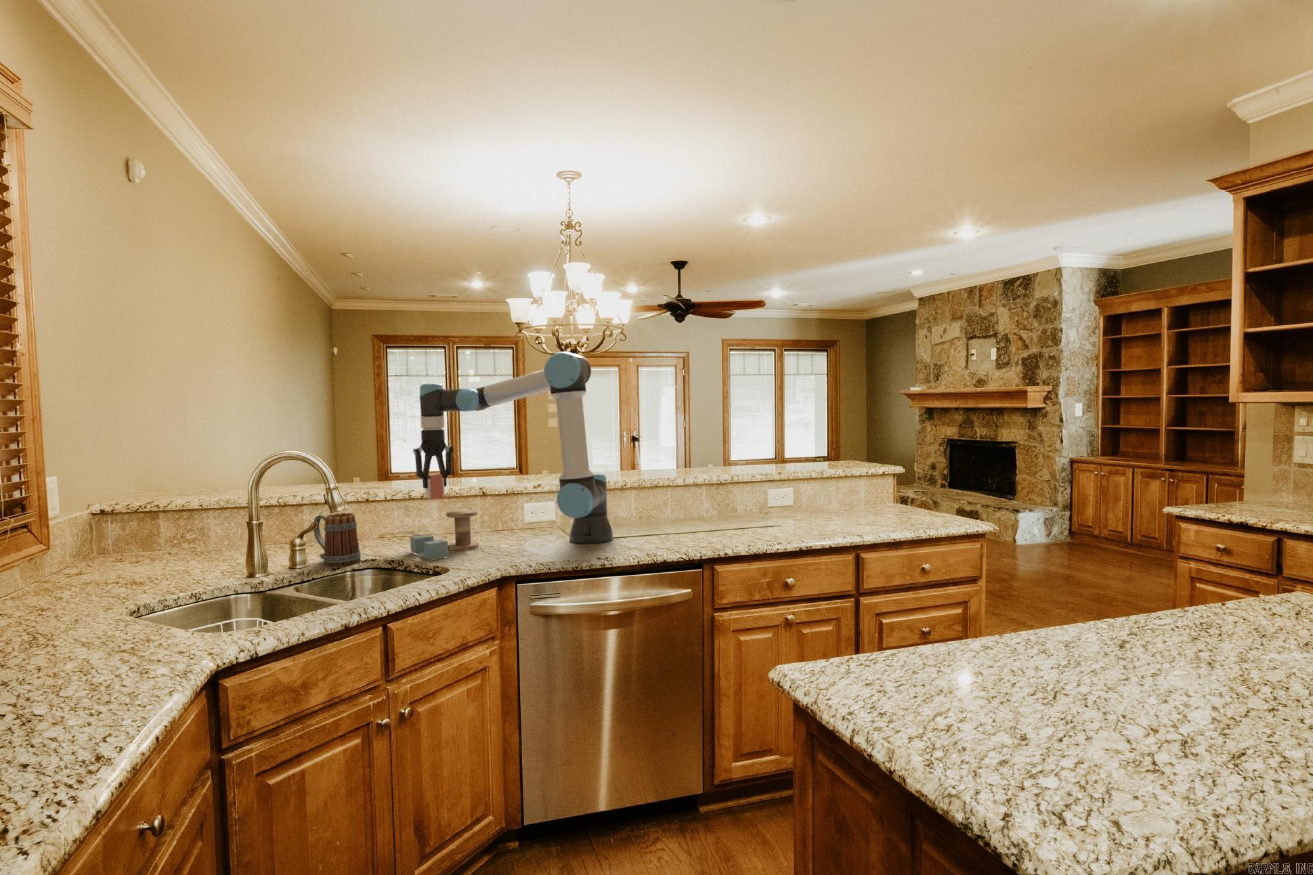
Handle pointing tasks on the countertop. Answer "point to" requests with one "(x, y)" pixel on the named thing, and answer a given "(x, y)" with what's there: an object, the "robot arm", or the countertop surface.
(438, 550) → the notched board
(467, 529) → the bobbin
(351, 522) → the mug
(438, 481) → the red rectangular block
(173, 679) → the countertop surface
